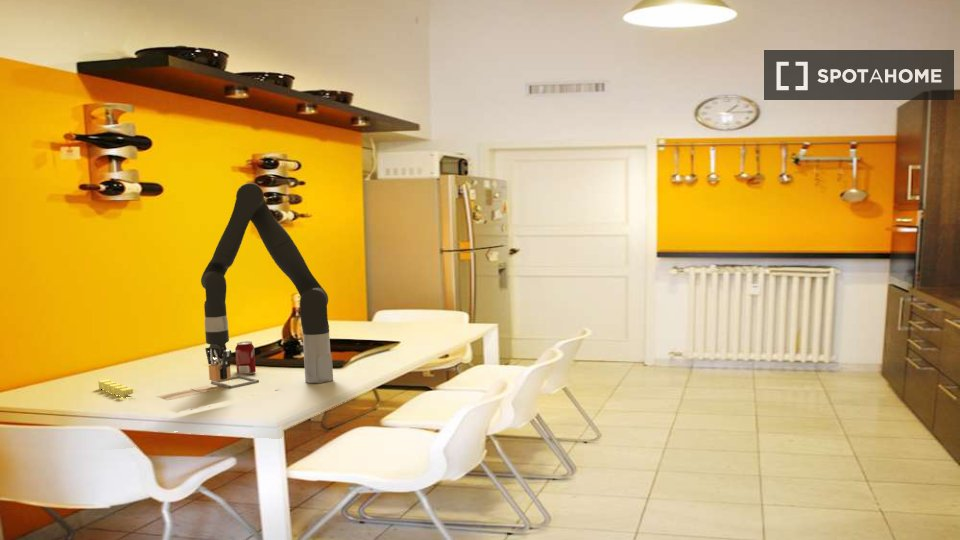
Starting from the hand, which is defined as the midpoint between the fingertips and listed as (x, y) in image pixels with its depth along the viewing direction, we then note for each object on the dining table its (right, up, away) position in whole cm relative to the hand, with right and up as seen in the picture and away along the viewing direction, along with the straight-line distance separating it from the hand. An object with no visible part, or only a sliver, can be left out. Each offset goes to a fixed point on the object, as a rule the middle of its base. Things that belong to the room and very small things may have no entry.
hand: (220, 377), depth 266 cm
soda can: (+2, -2, +24) cm, 24 cm away
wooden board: (-8, -5, -8) cm, 12 cm away
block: (0, 0, 0) cm, 0 cm away
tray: (+4, -4, +4) cm, 7 cm away
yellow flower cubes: (-36, -6, +3) cm, 36 cm away
